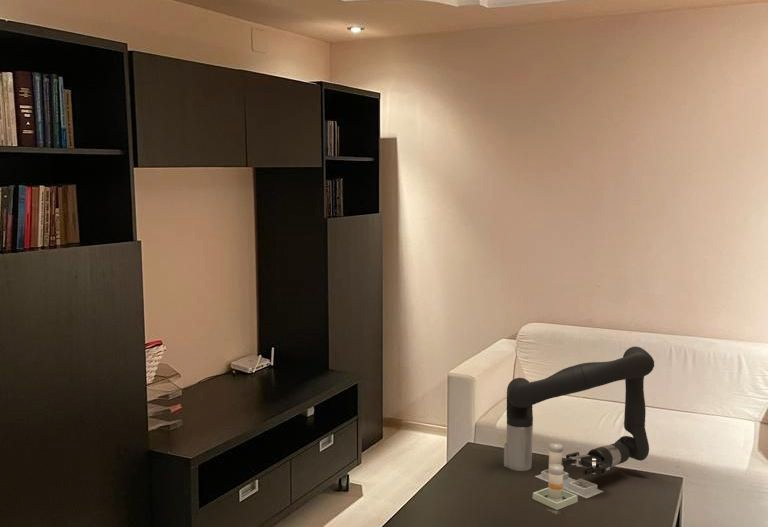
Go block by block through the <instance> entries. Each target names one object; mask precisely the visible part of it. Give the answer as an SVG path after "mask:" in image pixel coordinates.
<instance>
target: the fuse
mask: <svg viewBox="0 0 768 527" xmlns="http://www.w3.org/2000/svg"><path fill="white" fill-rule="evenodd" d="M563 448H564V444H563V443H561V442H556V441H553V442H549V443H548V453H549V454H548V466H549V465H550V464H560V465H562V461H563V450H564V449H563ZM548 474H549V468H548Z"/></svg>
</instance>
